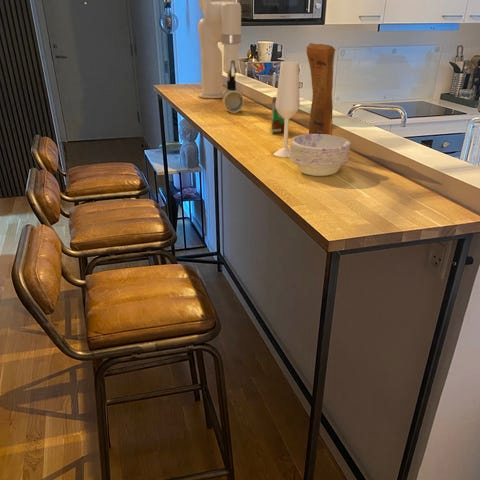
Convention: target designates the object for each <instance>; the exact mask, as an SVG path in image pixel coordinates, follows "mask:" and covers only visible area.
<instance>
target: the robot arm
mask: <svg viewBox="0 0 480 480" xmlns="http://www.w3.org/2000/svg"><path fill="white" fill-rule="evenodd" d="M198 5H199V9H200V12H202V13H203V18H201V19H200V20H199V21H198V23H197V34H198V40H199V47H200V68H201V71H200V72H201V92H200V93H198V97H199V98H202V99H222V96H223V94H224V92H223V90H224V88H223V72H224V73H225V74H226V75H227V81H226V88H227V89H226V90H228V89H236V90H237V85H236V84H237V82H236V74H237V73H238V72H239V45H240V46H241V45H242V6H241V3H240V2H237V0H198ZM217 43H221V45H222V46H223V51H222V50H221V48H220V47H219V46H218V44H217Z"/></svg>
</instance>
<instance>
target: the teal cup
mask: <svg viewBox="0 0 480 480" xmlns="http://www.w3.org/2000/svg"><path fill="white" fill-rule="evenodd" d="M223 93H224V94H223V96H222V98H221V99H222V100H221V102H222V104H223V107H224V108H225V110H226V111H228V112H229V113H231V114H236V113H238V112H240V111H242V109H243V107H244V105H245V98H244V96H243V94H242V93H241V92H240V90H238V89H237V88H236V89H228V90H227V89H226V90H225V91H224V92H223Z"/></svg>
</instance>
